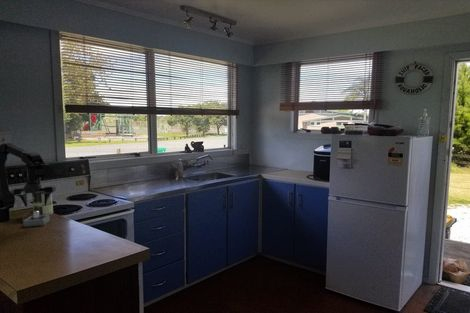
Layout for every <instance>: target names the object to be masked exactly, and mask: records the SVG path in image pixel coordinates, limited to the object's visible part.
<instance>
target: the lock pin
mask: <svg viewBox="0 0 470 313" xmlns="http://www.w3.org/2000/svg"><path fill="white" fill-rule="evenodd" d="M33 215H34V220H39V211H34V212H33Z"/></svg>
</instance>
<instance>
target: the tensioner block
mask: <svg viewBox="0 0 470 313" xmlns="http://www.w3.org/2000/svg"><path fill="white" fill-rule="evenodd" d="M33 212H34V211H33V210H30V211H29V212H27V213H26V214H23V215H22V217H21V220H22V223H23V221H24V220H26V219H27V218H29V217H30V216H34V215H33ZM39 216H40V212H39Z"/></svg>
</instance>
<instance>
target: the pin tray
mask: <svg viewBox="0 0 470 313" xmlns="http://www.w3.org/2000/svg"><path fill="white" fill-rule="evenodd" d="M50 218H51V216H50V215H43V216H39V220H34V216H30V217H29V218H27V219H26V220H24V221H23V222H22V223H23V228H25V227H26V228H27V227H40V226H42V227H43V226H45V225H46V224H48V223H49V222H50V221H51V220H50Z"/></svg>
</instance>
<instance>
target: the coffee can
mask: <svg viewBox="0 0 470 313" xmlns="http://www.w3.org/2000/svg"><path fill="white" fill-rule="evenodd" d="M44 193H46V192H44V191H40V192H35V193H31V194H32V195H31V198H32V199H31V200H32V208H33V209H32V211H39V212H40V216H43V215H49V216H50V215H52V214H54V205H53V195H52V194H53V193H51V194H50V196H49V199H48V202H47V205H46V206H45V196H44Z"/></svg>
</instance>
